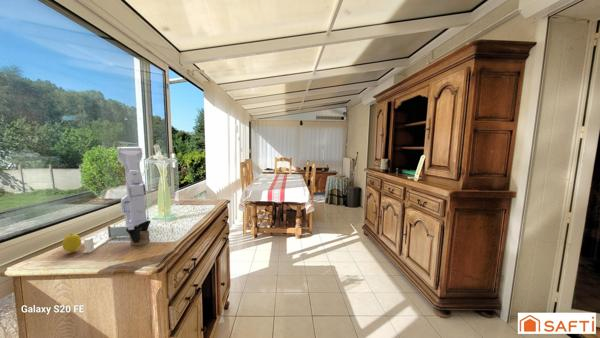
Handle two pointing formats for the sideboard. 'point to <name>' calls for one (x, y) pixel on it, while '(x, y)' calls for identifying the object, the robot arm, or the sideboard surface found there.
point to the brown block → (141, 238)
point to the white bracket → (90, 247)
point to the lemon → (71, 243)
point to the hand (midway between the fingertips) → (140, 239)
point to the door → (117, 231)
